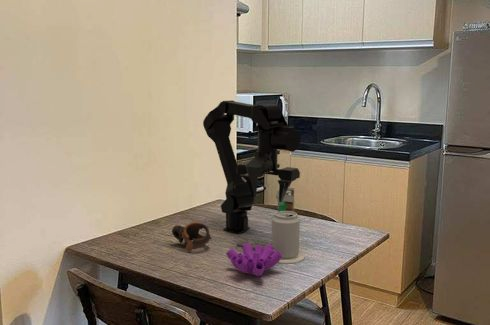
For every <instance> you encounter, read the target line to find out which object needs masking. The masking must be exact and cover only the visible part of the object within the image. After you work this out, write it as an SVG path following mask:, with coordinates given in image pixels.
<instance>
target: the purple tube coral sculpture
mask: <svg viewBox="0 0 490 325" xmlns="http://www.w3.org/2000/svg"><path fill="white" fill-rule="evenodd" d="M251 245H252V244H251V243H244V245H243V247H242V252H239V253H238V252H237V251H236V250H235V249H234V248H233V247H231V249H229V250H228V251H227V252H225V254H226V257H227V258H228V260H230V263H231V264H232V266H233V267H234V268H235V269H237V270H238V271H240V272H242V273H245V274H250V275H251V274H252V275H254V276H257V277H260V276H261V275H262V274H263V273H264V272H265V271H267V270H269V269H271V268H273V267H274V266H276V265H277V264H279V263H278V262H279V261H280V259H281V258H282V254H281V253H280V252H278V251H274V246H272V244H269V243H267V244H265V246H264V247H263V245H257V244H256V245H254V246H255V250H254V249H252V246H253V245H252V246H251ZM263 248H264V250H263Z"/></svg>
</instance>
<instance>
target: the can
mask: <svg viewBox="0 0 490 325" xmlns="http://www.w3.org/2000/svg"><path fill="white" fill-rule="evenodd" d="M271 220H272V222H271V223H272V224H271V245H272V246H274V251H278V252H280V253H281V254H282V258H281V259H291V258H294V257H296V255H298V254H299V252H300V229H301V228H300V226H301V225H300V223H301V222H300V218H299V216H298V213H297V212H295V211H294V212H292V211H279V212H278V211H276V212H274V216H273V217H272V219H271Z"/></svg>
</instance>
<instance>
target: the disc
mask: <svg viewBox="0 0 490 325" xmlns="http://www.w3.org/2000/svg"><path fill="white" fill-rule="evenodd" d="M304 259H305V255H304V253H303V252H301V251H299V254H298V255H296V257H294V258H291V259H280V261H279V262H278V263H277V264H285V265H286V264H287V265H288V264H297V263H300V262H302V261H304Z"/></svg>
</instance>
